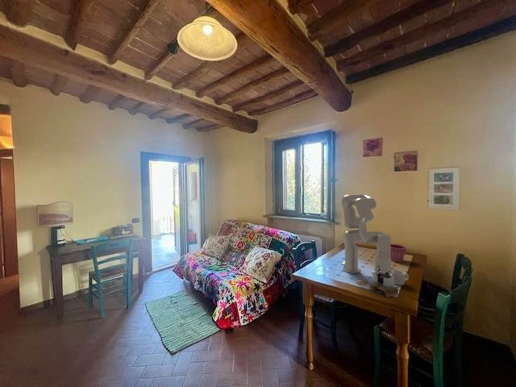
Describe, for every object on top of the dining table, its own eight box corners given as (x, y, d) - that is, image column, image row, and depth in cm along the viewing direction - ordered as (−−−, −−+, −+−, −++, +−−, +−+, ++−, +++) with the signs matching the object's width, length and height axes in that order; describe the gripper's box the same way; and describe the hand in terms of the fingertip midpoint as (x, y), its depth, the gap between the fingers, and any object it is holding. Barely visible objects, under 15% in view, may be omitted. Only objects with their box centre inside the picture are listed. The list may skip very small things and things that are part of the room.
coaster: (353, 282, 156) (354, 281, 156) (360, 279, 159) (360, 279, 159) (362, 285, 150) (362, 285, 150) (369, 283, 153) (369, 283, 153)
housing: (373, 281, 145) (373, 273, 144) (379, 279, 147) (379, 271, 147) (388, 287, 136) (388, 279, 136) (394, 284, 139) (394, 276, 138)
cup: (404, 280, 156) (404, 269, 156) (412, 286, 148) (412, 274, 148) (389, 281, 156) (389, 270, 156) (396, 286, 148) (396, 274, 148)
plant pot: (410, 261, 193) (410, 247, 193) (398, 264, 188) (398, 249, 188) (394, 257, 207) (394, 243, 206) (383, 259, 202) (383, 245, 201)
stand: (369, 289, 145) (369, 282, 144) (379, 285, 149) (379, 279, 149) (388, 297, 134) (388, 290, 134) (398, 293, 139) (398, 286, 139)
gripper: (386, 250, 148) (386, 277, 149) (369, 254, 140) (369, 283, 141) (397, 253, 142) (397, 281, 142) (380, 258, 134) (380, 287, 134)
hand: (383, 281), depth 142 cm, fingers closed on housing, 6 cm apart
